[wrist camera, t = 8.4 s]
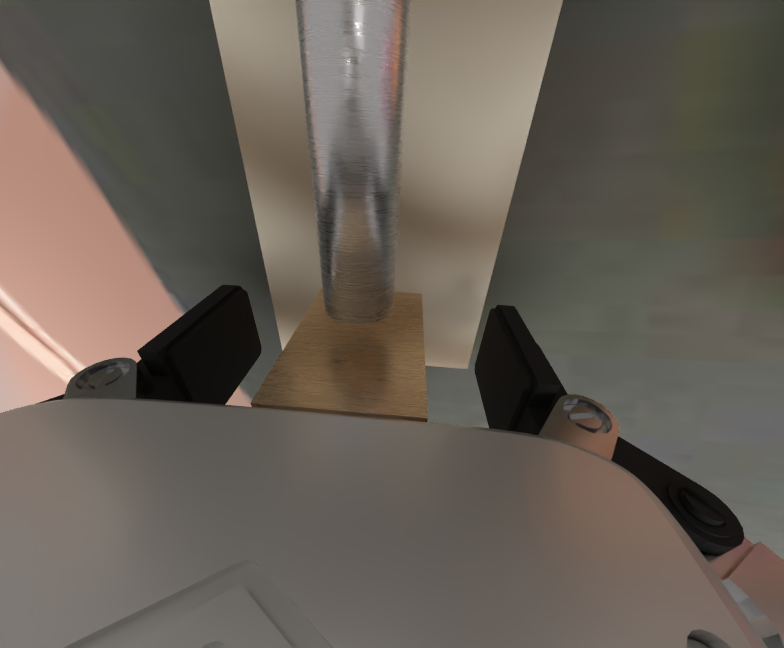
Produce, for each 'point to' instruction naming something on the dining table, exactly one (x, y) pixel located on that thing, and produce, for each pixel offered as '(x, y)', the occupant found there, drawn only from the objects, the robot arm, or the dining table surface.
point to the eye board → (419, 159)
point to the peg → (354, 221)
